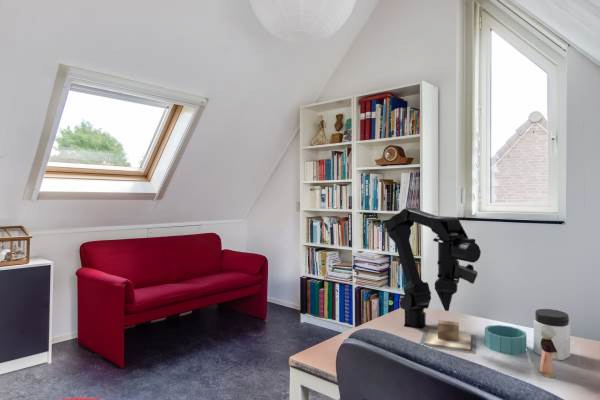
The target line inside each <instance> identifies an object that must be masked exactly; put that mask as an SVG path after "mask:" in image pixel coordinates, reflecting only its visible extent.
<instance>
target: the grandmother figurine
mask: <svg viewBox="0 0 600 400" xmlns="http://www.w3.org/2000/svg"><path fill="white" fill-rule="evenodd" d="M541 329H542V332H541V335H542V337H543V338H542V339H541V343H540V344H541V345H540V349H542V350H543V351H542V356H540V362H539V365H540V366H539V367H538V369H537V370H538V372H539V373H542V376H544V377H545V378H555V377H556V374H555V373H554V361H555V360H556V361H557V359H558V357H557V350H556V348H555V346H554V344H553V342H552V340H551V339H552V337H554V336H556V335H557V334H556V332H555V331H554V329H553V328H552V327H550V326H547V325H543V326H542V328H541ZM552 355H553V358H552Z"/></svg>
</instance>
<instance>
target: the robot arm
mask: <svg viewBox="0 0 600 400" xmlns="http://www.w3.org/2000/svg"><path fill="white" fill-rule="evenodd" d="M415 223H416V224H419V225H422V226H425V227H427V228H429V229H431V232H432V233H434V234H436V236H435V237H434V238H433V239H432V240H433V242H435V243H437V259H438V260H437V266H438V267H437V269H438V270H437V271H438V272H437V278H436V280H435V282H434V290H435V292H436V293H437V296H438V299H439V301H440V302H441V305H442V307H443V309H444V311H445V312H449V311H450V306H451V302H452V299H453V298H452V297H453V295H454V294H456V293H457V292H458V284H459V283H460V279H462V280H463V281H464V280H465V281H466V282H469V284H472V285H473V284H475V281H476V279H477V277H478V274H479V273H478V271H477V270H475V269H474V265H473V264H469V263H476V262H478V261H479V259H480V257H481V253H482V251H481V249H480V247H479V245H478V244H477V242H476V239H475V238H469V236H468V235H467V233H466V231H465V230H464V227H463V226H462V223H461V221H460V219H459V218H458V217H457V216H456V217H455V216H443V215H442V216H439V215H435V214H432V213H429V212H426V211H423V210H420V209H417V208H415V207H407V208H406V207H404V208H403V209H402V210H401V211H400V212H399V213H398V212H397V213H396V214H394V215H393V216H392V217H391V218H389V219H388V220H387V222H386V224H385V230H386V232H387V234H388V236H389V239H391V240H392V241H393V242H394V243H395V245H396V250H397V254H398V258H399V260H400V264H401V269H402V272H403V275H404V278H405V285H404V289H403V292H404V296H403V297H402V298H401V300H400V301H399V306H400V307H399V308H400V309H401V310H402V309H403V310H404V324H403V327H404V328H412V329H422V330H423V329H424V327H425V326H426V325H427V314H426V312H425V309H429V307H430V303H431V300H432V292H431V290H430V286H429V283H428V282H427V281H426V282H424V281H423V279H421V277H420V273H419V270H418V266H417V262H416V260H415V256H414V252H413V249H412V246H411V242H410V238H411V235H412V234H411V233H412V227H413V226H414V225H415ZM460 261H463V262H468V264H467V265H461V264H460Z"/></svg>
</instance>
